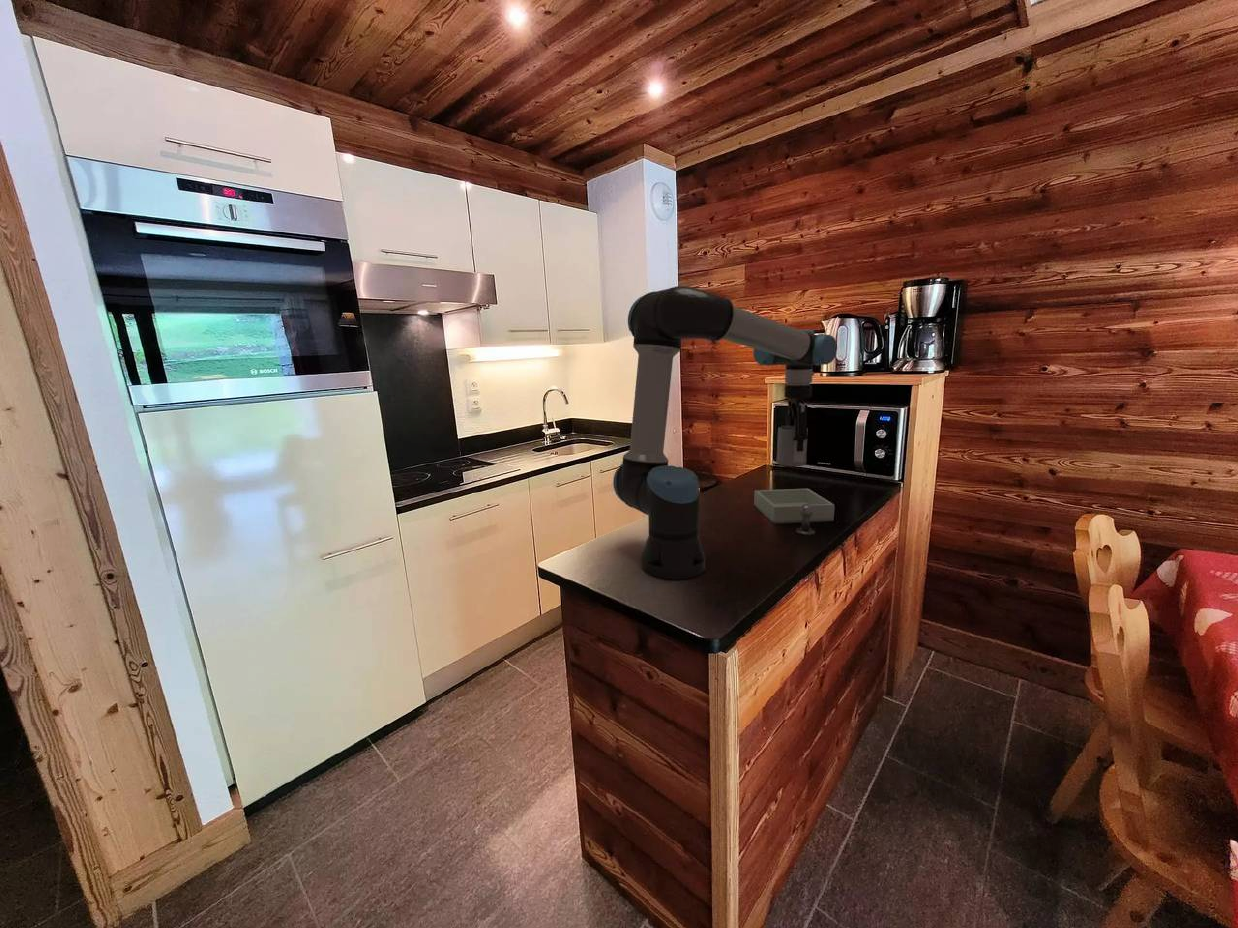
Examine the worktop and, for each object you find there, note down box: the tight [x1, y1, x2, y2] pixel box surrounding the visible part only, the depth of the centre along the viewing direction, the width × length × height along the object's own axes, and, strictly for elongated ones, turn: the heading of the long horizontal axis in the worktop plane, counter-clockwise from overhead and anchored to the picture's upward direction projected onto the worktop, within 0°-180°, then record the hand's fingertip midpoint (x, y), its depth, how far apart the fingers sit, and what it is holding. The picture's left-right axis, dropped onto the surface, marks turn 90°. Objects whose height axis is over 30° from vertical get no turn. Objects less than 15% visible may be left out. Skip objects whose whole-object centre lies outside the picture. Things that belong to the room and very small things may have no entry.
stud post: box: [795, 504, 816, 536], centre depth 133 cm, size 5×5×8 cm
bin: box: [753, 488, 836, 524], centre depth 150 cm, size 18×18×5 cm
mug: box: [776, 425, 809, 467], centre depth 147 cm, size 12×8×11 cm
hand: (794, 458), depth 147 cm, fingers closed on mug, 9 cm apart
